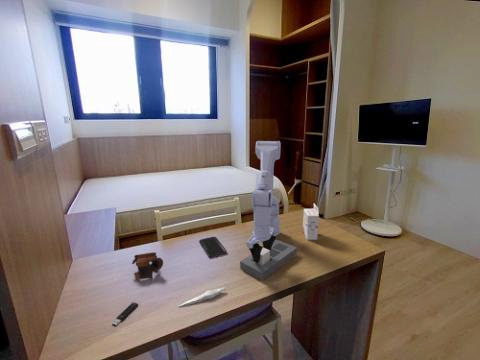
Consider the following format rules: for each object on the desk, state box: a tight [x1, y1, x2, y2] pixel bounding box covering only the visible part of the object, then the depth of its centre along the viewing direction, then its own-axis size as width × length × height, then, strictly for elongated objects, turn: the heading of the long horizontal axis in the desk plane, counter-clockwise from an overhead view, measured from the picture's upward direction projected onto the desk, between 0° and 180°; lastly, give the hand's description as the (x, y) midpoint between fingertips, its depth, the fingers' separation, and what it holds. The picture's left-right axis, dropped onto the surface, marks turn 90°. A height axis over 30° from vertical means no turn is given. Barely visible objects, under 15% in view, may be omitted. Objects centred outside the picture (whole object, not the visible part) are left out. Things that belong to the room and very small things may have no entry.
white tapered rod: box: [177, 286, 226, 308], centre depth 73 cm, size 15×3×2 cm, turn 116°
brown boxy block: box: [131, 252, 164, 280], centre depth 86 cm, size 12×10×8 cm
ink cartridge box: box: [302, 202, 320, 241], centre depth 110 cm, size 9×5×15 cm, turn 179°
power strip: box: [239, 239, 298, 281], centre depth 92 cm, size 22×10×3 cm, turn 136°
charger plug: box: [253, 248, 270, 266], centre depth 88 cm, size 4×4×6 cm
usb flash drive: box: [111, 301, 139, 327], centre depth 68 cm, size 8×2×1 cm, turn 161°
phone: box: [198, 236, 228, 259], centre depth 102 cm, size 8×1×15 cm
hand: (261, 257), depth 88 cm, fingers open, 6 cm apart
